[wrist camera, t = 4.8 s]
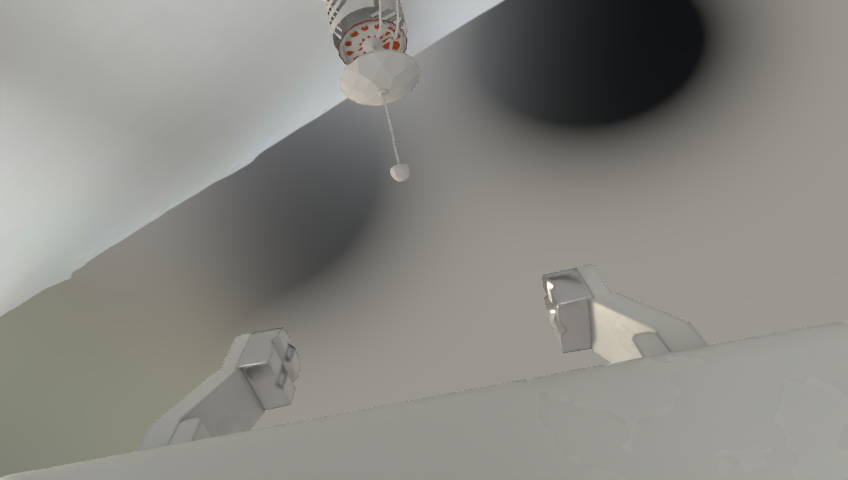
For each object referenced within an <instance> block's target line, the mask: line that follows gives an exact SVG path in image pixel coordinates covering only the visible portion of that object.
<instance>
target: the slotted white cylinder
mask: <svg viewBox="0 0 848 480" xmlns="http://www.w3.org/2000/svg"><path fill="white" fill-rule="evenodd" d="M322 1H323V2H325V3H326V5H327V10H330V13H329V11H328V14H329V21H330V19H331V20H332V21H333V22H332V23H331V21H330V24H331V31H332V36H333V41H334V45H335V47H336V48H337V50H338V51H339V56H340V58H341V59H342V60H343V62H344V63H345V64H346V65H348V66H347V67H346V68H345V70H344V72H343V74H342V75H341V77H340V87H341V90H342V91H343V93H344V94H345V95H346V97H347V98H349V99H351V100H353V101H355V102H357V103H359V104H366V105H383V104H384V105H385V109H386V114H387V118H388V123H389V128H390V132H391V136H392V141H393V146H394V150H395V155H396V159H397V164H398V165H395V166H393V167H392V168H391V169H390V172H391V175H392V177H393V178H394V179H395V180H397V181H403V180H406V179H407V178H408V177H409V176H410V167H409V165H407V164H400V163H399V158H398V154H397V149H396V145H395V140H394V136H393V131H392V127H391V122H390V118H389V113H388V109H387V103H390V102H393V101H396V100H398V99H400V98H401V97H403V96H405V95H406V94H408V93H409V92H410V91H412V89H413V88H414V86H415V85H416V84H417V83H418V80H419V75H420V69H419V67H418V65H417V62H416V61H415V60H414V59H413V58H411V57H410V56H408V55H407V54H406V53H404V52H405V50H406V46H407V38H406V36H407V28H406V24H405V27H404V31H403V30H402V29H401V28H400V27H402V26H403V23H404V22H405V19H404V15H403V11H402V7H401V4H400V2H399V1H400V0H322ZM399 4H400V6H399ZM330 6H331V7H332V9H331V8H330ZM383 7H384V8H387V10H385V11H383V12H382V8H383ZM336 10H337V11H338V14H337V13H335V11H336ZM378 10H379V14H378V15H377V16H375V17H373V18H372V17H371V14H373V13H374V12H376V11H378ZM393 11H395V12H396V13H397V14H396V15H394V16H392V17H390V18H388V19H387V20H382V17H384V16H386V15H388V14H390V13H391V12H393ZM332 15H334V16H335V18H333V17H332ZM400 16H401V17H402V20H401V21H400V22H399V17H400ZM396 19H397V20H396ZM395 20H396V25H395V24H394V23H393V21H395ZM339 22H340V23H341V24H340V23H339ZM336 26H338V27H340V28H341V29H342V32H340V31H339V30H338V29H337V28H336ZM334 30H335V32H336V33H338V34H339V35H340V36H341V37H342V38H341V40H340V39H339V38H338V37H337V36H336V35H335V34H334Z"/></svg>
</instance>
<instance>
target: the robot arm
mask: <svg viewBox="0 0 848 480" xmlns="http://www.w3.org/2000/svg"><path fill="white" fill-rule="evenodd" d="M542 281H543V287H544V289H545V292H546V294H547V295H546V297H545V305H546V310H547V315H548V318H549V321H550V324H551V326H552V328H554V329H555V331H556V338H557V341H558V343H559V345H560V347H561V350H562V352H563V353H568V352H574V351H580V350H587V349H593V351H595V352H596V353H598V354H599V355H601V356H602V357H603V358H605V359H606V360H608V361H609V362H611V363H609V364H604V365H598V366H593V367H588V368H582V369H577V370H571V371H566V372H561V373H555V374H550V375H545V376H539V377H534V378H529V379H523V380H518V381H512V382H507V383H502V384H496V385H491V386H486V387H480V388H475V389H470V390H464V391H459V392H453V393H448V394H443V395H437V396H432V397H427V398H421V399H416V400H410V401H405V402H400V403H394V404H389V405H384V406H379V407H373V408H368V409H362V410H357V411H351V412H346V413H341V414H336V415H330V416H324V417H320V418H314V419H308V420H303V421H298V422H292V423H287V424H282V425H276V426H271V427H265V428H260V429H255V430H250V429H251V428H252V427H253V426H254V424H255V423H256V422H257V420H259V418H260V417H261V416H262V415H263V413H264V411H265V410H269V409H274V408H278V407H283V406H288V405H291V402H292V399H293V395H294V391H295V386H294V384H293V382H294V381H295V380H296V379H297V378H298V377H299V372H300V359H299V355H298V352H297V350H296V348H295V347H293V346H292V345H290V344H289V340H290V335H289V334H288V332H287V330H286V329H285V328H283V327H282V328H276V329H271V330H266V331H260V332H254V333H249V334H244V335H239V336H237V337H236V338H235V339H234V341H233V344H232V346H231V348H230V350H229V352H228V354H227V356H226V358H225V360H224V362H223V364H222V367H221V369H220V371H219V372H215V373H213V374H212V375H211V376H210V377H209V378H208V379H206V380H205V381H204V382H203V383H201V384H200V385H199V386H198V387H197V388H195V389H194V390H193V391H192V392H190V393H189V394H188V395H187V396H186V397H185V398H183V399H182V400H181V401H180V402H178V403H177V404H176V405H175V406H174V407H172V408H171V409H170V410H169V411H168V412H166V413H165V414H164V415H163V416H162V417H160V418H159V419H158V420H157V421H156V422H154V423H153V424H152V425H151V426H150V428H149V430H148V432H147V433H146V435H145V437H144V439H143V441H142V442H141V444H140V446H139V448H138V449H137V451H136V452H132V453H127V454H121V455H115V456H110V457H104V458H99V459H94V460H88V461H83V462H78V463H72V464H67V465H62V466H56V467H51V468H45V469H40V470H34V471H28V472H22V473H15V474H11V475H8V476H4V477H1V478H0V480H848V319H845V320H840V321H834V322H829V323H823V324H818V325H813V326H807V327H802V328H797V329H792V330H786V331H781V332H775V333H770V334H765V335H760V336H754V337H749V338H744V339H738V340H733V341H728V342H723V343H717V344H712V345H708V344H707V342H706V341H705V340H704V339H703V338H702V336H701V335H700V334H699V333H698V331H697V330H696V329H695V328H694V327H693V325H692V324H691V323H690V322H687V321H685V320H682V319H680V318H677V317H675V316H672V315H670V314H668V313H665V312H663V311H660V310H658V309H656V308H653V307H651V306H648V305H646V304H643V303H641V302H638V301H636V300H634V299H631V298H629V297H626V296H624V295H622V294H619V293H615V294H613V293H612V291H611V290H610V288H609V287H608V285H607V284H606V283H605V281H604V279H603V278H602V276H601V275H600V273H599V272H598V271H597V269H596V267H595V266H594V265H593V264H588V265H584V266H580V267H576V268H573V269H568V270H563V271H559V272H554V273H550V274H545V275H542Z"/></svg>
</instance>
